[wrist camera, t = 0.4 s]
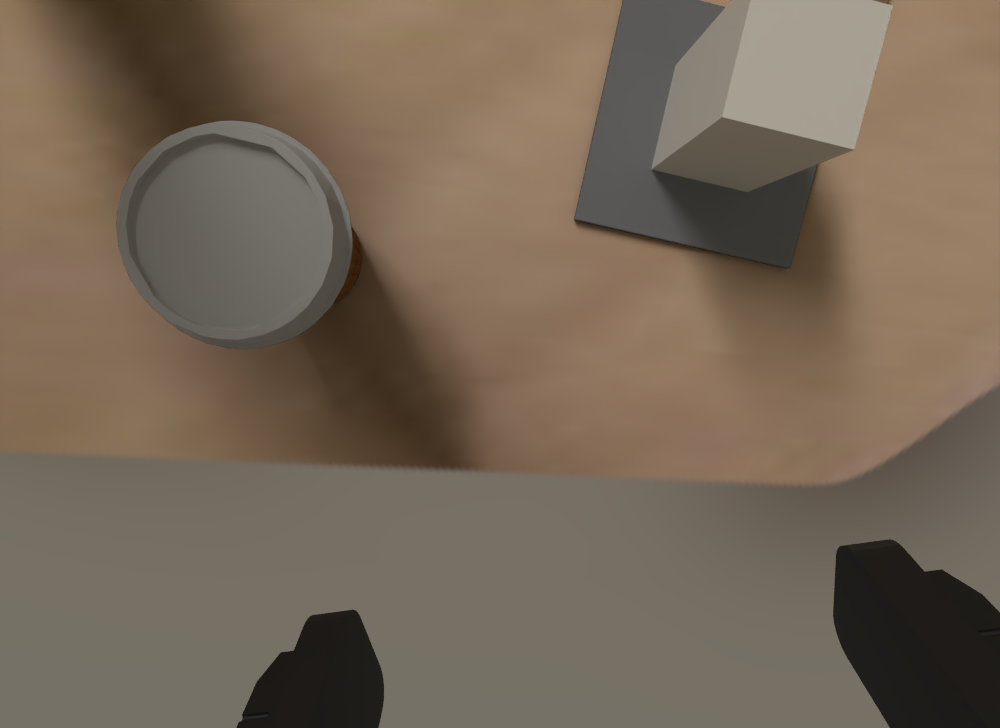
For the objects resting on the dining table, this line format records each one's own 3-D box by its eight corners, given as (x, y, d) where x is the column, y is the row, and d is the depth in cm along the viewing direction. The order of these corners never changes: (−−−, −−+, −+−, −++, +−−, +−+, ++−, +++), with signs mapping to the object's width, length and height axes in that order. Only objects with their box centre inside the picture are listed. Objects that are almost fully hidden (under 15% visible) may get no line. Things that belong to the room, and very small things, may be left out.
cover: (651, 169, 35) (722, 117, 25) (675, 65, 34) (758, -31, 24) (747, 192, 35) (854, 149, 25) (772, 90, 35) (892, 5, 25)
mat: (574, 219, 35) (575, 218, 35) (626, -15, 34) (627, -19, 34) (786, 268, 36) (790, 268, 36) (845, 42, 35) (849, 39, 35)
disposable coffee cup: (420, 252, 35) (394, 227, 23) (318, 366, 36) (240, 398, 24) (301, 142, 34) (209, 57, 22) (197, 261, 35) (53, 239, 23)
